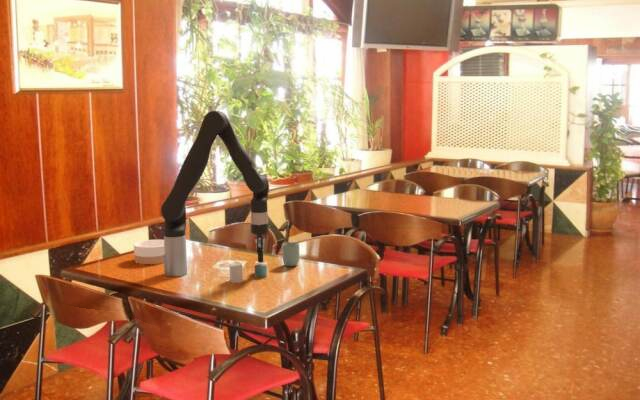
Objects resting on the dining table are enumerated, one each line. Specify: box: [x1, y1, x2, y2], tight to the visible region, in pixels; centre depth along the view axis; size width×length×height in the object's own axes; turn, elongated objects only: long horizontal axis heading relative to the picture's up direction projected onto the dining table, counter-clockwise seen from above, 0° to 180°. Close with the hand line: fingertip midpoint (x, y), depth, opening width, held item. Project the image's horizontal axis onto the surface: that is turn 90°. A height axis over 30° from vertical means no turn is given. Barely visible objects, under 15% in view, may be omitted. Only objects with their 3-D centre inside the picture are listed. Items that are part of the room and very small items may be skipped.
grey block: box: [229, 262, 244, 284], centre depth 292 cm, size 4×4×7 cm
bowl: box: [133, 239, 165, 265], centre depth 331 cm, size 17×17×8 cm
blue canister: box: [254, 260, 268, 278], centre depth 302 cm, size 5×5×8 cm
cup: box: [281, 241, 300, 267], centre depth 316 cm, size 8×8×10 cm
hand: (260, 261), depth 300 cm, fingers closed
